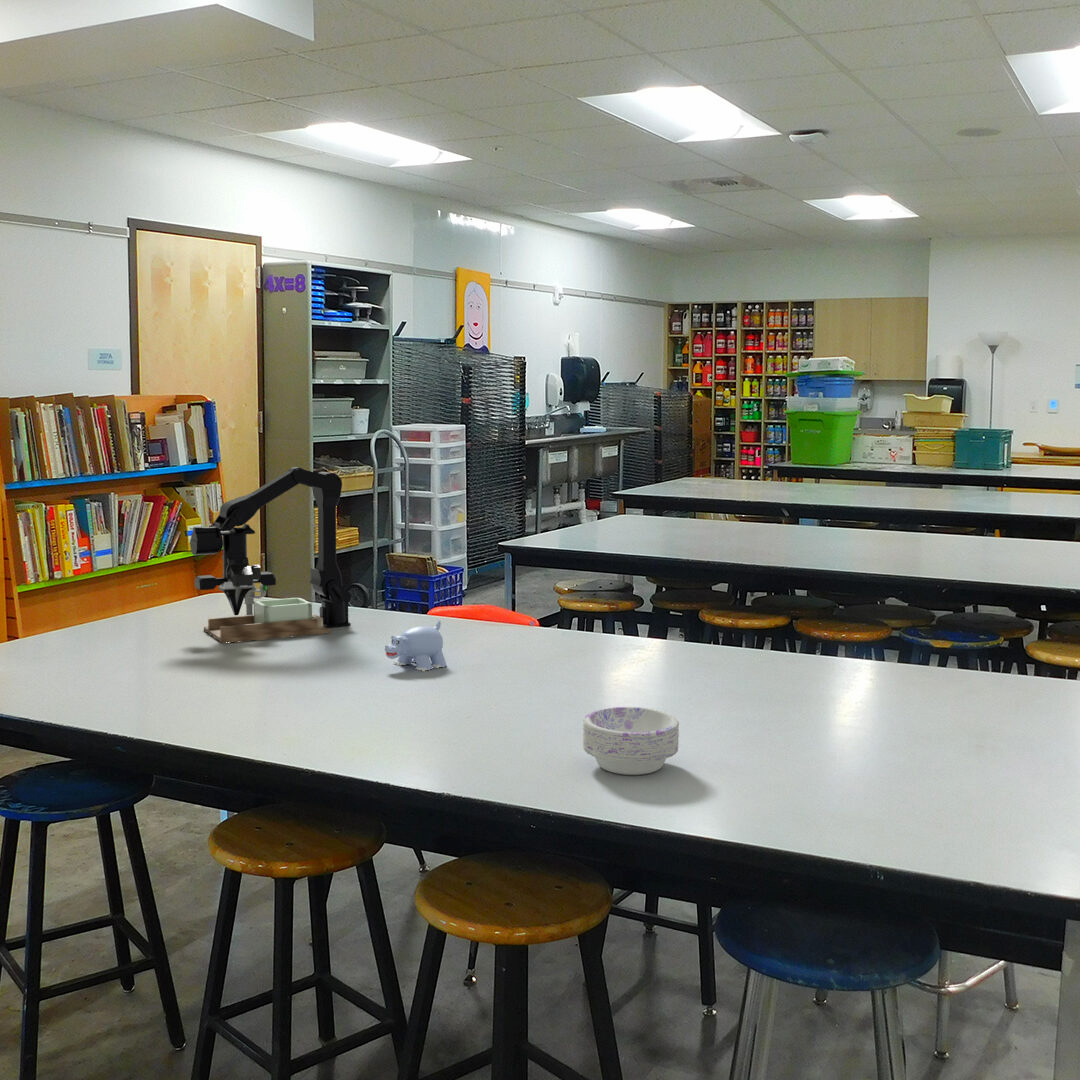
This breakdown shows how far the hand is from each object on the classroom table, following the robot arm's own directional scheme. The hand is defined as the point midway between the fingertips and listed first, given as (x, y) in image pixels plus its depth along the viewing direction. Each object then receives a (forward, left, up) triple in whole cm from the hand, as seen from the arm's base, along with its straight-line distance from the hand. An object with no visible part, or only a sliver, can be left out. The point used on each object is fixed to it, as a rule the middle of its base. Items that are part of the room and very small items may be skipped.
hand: (236, 615), depth 285 cm
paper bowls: (-27, +133, -5) cm, 136 cm away
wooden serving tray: (-8, 0, -5) cm, 9 cm away
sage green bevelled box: (-12, 0, -4) cm, 12 cm away
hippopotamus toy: (-25, +52, -5) cm, 58 cm away
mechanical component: (-8, -18, -5) cm, 20 cm away
